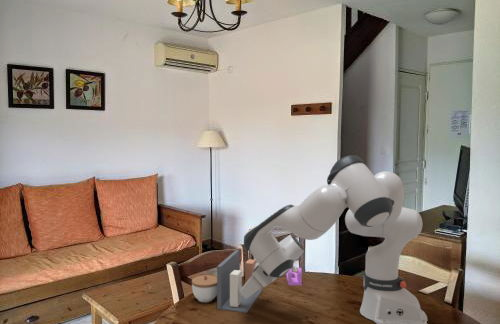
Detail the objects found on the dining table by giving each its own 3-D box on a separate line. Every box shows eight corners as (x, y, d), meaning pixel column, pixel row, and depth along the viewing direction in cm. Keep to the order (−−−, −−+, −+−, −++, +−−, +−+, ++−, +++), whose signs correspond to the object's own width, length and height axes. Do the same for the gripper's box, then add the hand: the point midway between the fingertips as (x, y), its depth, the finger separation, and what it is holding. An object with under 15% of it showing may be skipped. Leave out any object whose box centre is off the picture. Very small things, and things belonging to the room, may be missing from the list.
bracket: (301, 285, 171) (301, 269, 170) (288, 285, 171) (288, 269, 170) (297, 274, 184) (297, 260, 183) (285, 274, 184) (285, 260, 183)
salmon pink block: (255, 288, 164) (255, 259, 163) (252, 293, 159) (252, 263, 159) (248, 287, 165) (248, 259, 164) (245, 292, 160) (245, 262, 159)
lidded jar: (225, 299, 156) (225, 275, 156) (204, 307, 148) (204, 282, 148) (207, 291, 164) (207, 269, 163) (186, 299, 156) (185, 275, 155)
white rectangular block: (241, 301, 151) (241, 270, 150) (237, 307, 146) (237, 275, 146) (234, 300, 152) (234, 269, 151) (229, 306, 147) (229, 274, 146)
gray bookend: (262, 290, 165) (262, 252, 164) (247, 312, 144) (247, 269, 143) (236, 287, 168) (236, 249, 167) (217, 308, 147) (217, 266, 146)
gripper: (267, 255, 155) (243, 277, 158) (253, 272, 135) (226, 297, 139) (278, 267, 154) (254, 289, 158) (266, 286, 135) (238, 311, 138)
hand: (241, 293), depth 148 cm, fingers closed, pressing on white rectangular block
